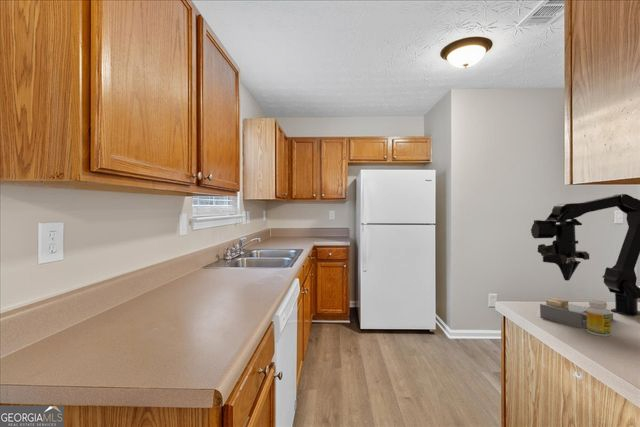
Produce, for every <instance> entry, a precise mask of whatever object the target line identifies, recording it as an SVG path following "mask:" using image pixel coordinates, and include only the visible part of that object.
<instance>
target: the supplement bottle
mask: <svg viewBox="0 0 640 427" xmlns="http://www.w3.org/2000/svg"><path fill="white" fill-rule="evenodd" d="M588 305H589V306H588V307H587V327H586V330H587V332H588V333H589V334H592V335H594V336H598V337H609V336H611V333H612V332H611V330H612V329H611V327H612V326H611V325H612V324H611V320H610V313H611V312H610V311H611V310H609V309H607V307H608V303H607V302H606V301H603V300H599V299H590V300H589V301H588Z"/></svg>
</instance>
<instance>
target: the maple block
mask: <svg viewBox="0 0 640 427" xmlns="http://www.w3.org/2000/svg"><path fill="white" fill-rule="evenodd" d="M545 305H548V306H553V307H557V308H561V309H565V310H569V307H568V305H569V300H566V299H565V300H564V299H560V298H555V297H553V298H549V299H545Z"/></svg>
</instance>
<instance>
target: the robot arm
mask: <svg viewBox="0 0 640 427" xmlns="http://www.w3.org/2000/svg"><path fill="white" fill-rule="evenodd" d="M615 207H617V208H618V209H619V210H620V211H621V212H622V213H624V214H626V218H625V219H626V223H627V226H628V228H627V230H626V231H627V232H626V234H625V237H624V240H623V242H622V245H621V249H620V251H619V253H618V254H619V255H618V257H617V261H616V262H615V265H613V266H612V267H608V266H607V267H606V268H605V270H604V274H603V275H602V278H603V284H604V285H605V286H606V287H607V289H608V290H609V293H613V294H614V301H615V302H614V304H615V305H614V306H615V308H612V309H610V311H611V312H612V313H613V312H614V313H619V314H621V315H622V314H623V315H626V316H627V315H628V316H633V317H634V316H638V315H640V310H639V308H638V299H640V287H639V286H638V285H637V280H638V277H637V274H636V270H635V268H636V266H637V262H638V260H639V257H640V199H639V198H638V199H637V198H636V197H633V196H632V195H629V194H627V193H621V194H613V195H611V196H607V197H602V198H596V199H592V200H588V201H583V202H577V203H575V202H574V203H573V202H572V203H570V202H569V203H557V204H555V205H554V206H553V208H552V210H551V213H550V214H549V215H548V216H547V217H546V219H544V220H542V219H536V220H535V219H534V220H533V224H532V226H531V228H530V232H531V236H532V238H534V239H554V237H555V240H553V241H552V244H550V245H549V244H548V245H546V244H545V243H542V244H538V245H537V253H539V254H540V255H541V256H542V262H543V263H548V264H549V263H550V264H555V265H556V266H558V267H559V270H560V272H561V274H562V277H563V279H564V281H570V280H571V279H572V276H573V275H574V273H575V270H577V268H578V266H579V264H581V261H580V260H577V259H581V260H582V259H583V260H585V261H586V260H590V253H589V252H587V251H583V250H582V251H581V250H577V245H576V244H579V240H576V226H582V225H583V223H582V222H580V221H579V220H578V219H577V218H578V217H579V218H580V217H581V216H584V215H586V214H588V213H592V212H597V211H601V210H607V209H610V208H615Z"/></svg>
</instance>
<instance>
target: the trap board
mask: <svg viewBox="0 0 640 427" xmlns="http://www.w3.org/2000/svg"><path fill="white" fill-rule="evenodd" d="M568 307H569V310H565V309H561V308H557V307H553V306H548V305H546V304H544V303H540V304H539V312H540V313H539V314H540V316H539V317H540V318H542V319H543V318H544V319H547V320H550V321H553V322H554V321H555V322H557V323H562V324H564V325H569V326H572V327H575V328H579V329H585V328H587V308H588V307H587V306H582V305H577V304H573V303H568ZM613 319H614V313H613V312H610V321H611V320H613Z"/></svg>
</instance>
